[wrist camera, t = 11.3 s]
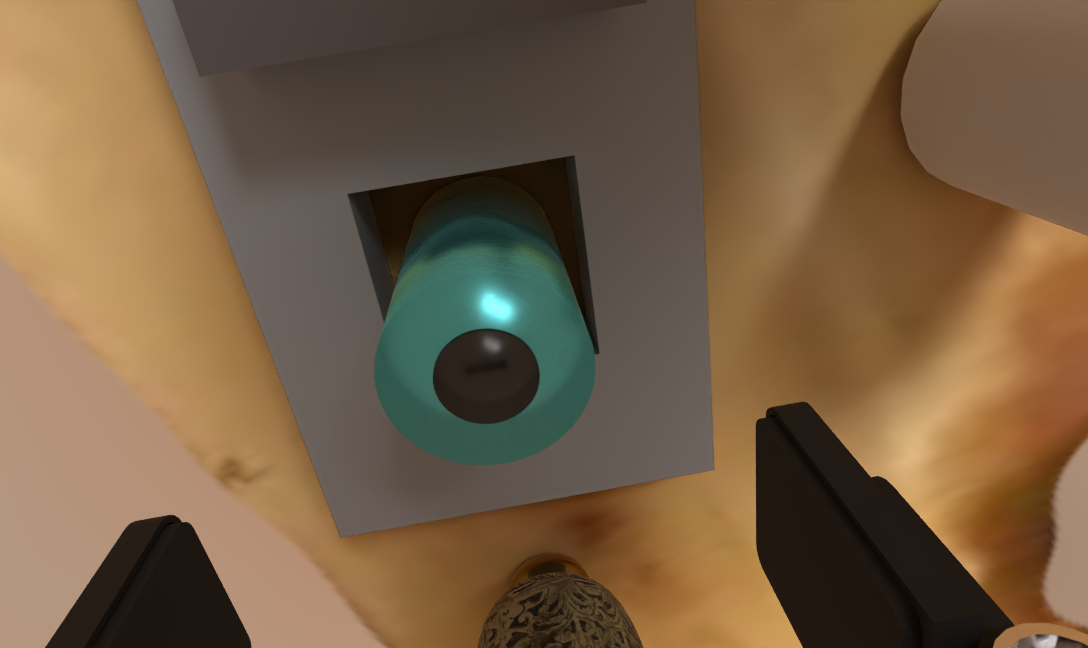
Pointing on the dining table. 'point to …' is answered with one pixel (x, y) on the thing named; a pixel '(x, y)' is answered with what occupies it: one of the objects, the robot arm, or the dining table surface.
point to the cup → (557, 610)
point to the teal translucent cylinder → (483, 330)
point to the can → (1004, 103)
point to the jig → (442, 151)
